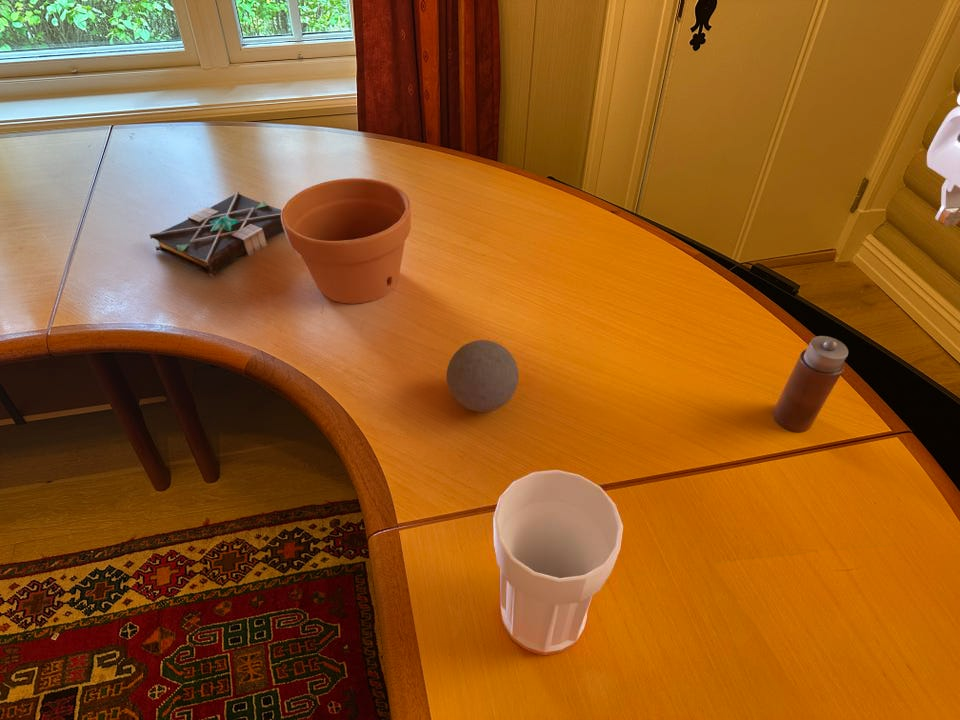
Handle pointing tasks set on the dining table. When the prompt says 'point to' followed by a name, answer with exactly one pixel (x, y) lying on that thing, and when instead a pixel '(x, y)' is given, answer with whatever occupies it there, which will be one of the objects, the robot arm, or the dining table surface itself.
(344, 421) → the dining table surface
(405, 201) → the flower pot
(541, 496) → the cup
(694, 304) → the dining table surface
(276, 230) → the book
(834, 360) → the pepper mill
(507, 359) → the decorative ball
